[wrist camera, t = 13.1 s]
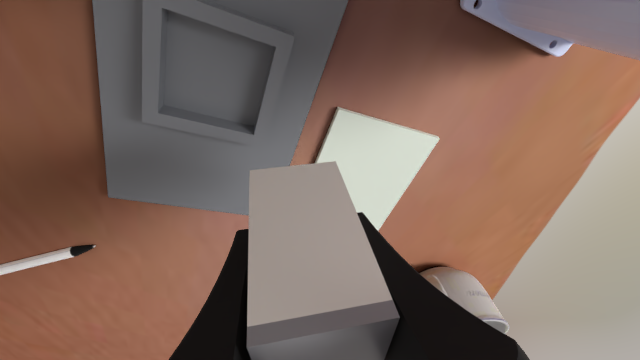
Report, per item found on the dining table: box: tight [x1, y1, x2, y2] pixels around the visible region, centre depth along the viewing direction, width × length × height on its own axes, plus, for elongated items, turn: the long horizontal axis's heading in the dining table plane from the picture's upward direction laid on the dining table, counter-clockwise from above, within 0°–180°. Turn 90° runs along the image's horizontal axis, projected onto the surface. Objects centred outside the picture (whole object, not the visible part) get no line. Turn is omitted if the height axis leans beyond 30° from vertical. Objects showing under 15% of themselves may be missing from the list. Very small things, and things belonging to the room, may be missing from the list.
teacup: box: [419, 267, 509, 334], centre depth 33 cm, size 14×11×8 cm
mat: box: [315, 107, 440, 231], centre depth 25 cm, size 9×14×1 cm, turn 160°
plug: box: [247, 161, 400, 360], centre depth 11 cm, size 4×4×8 cm
